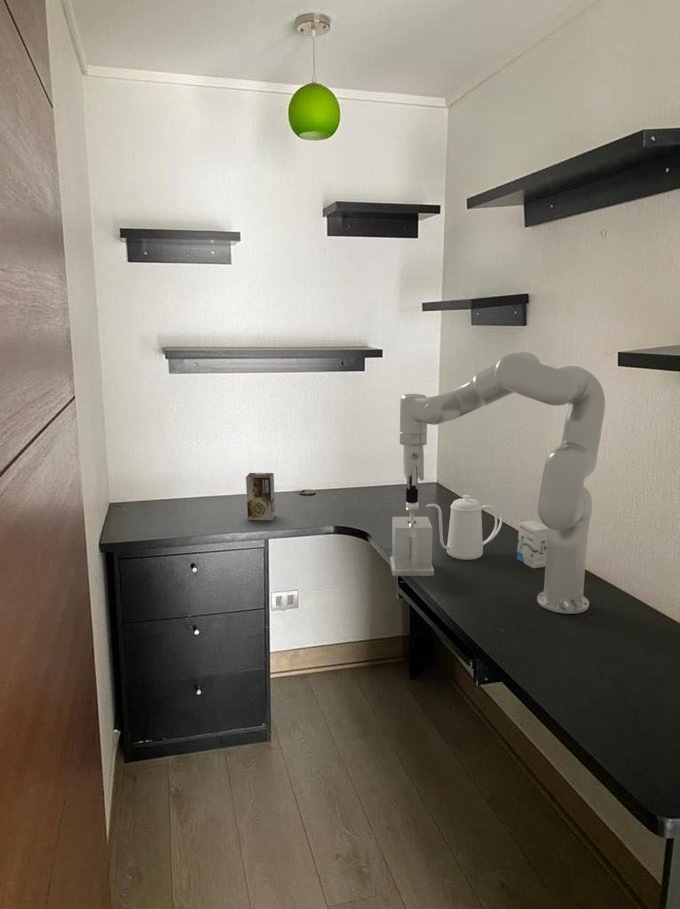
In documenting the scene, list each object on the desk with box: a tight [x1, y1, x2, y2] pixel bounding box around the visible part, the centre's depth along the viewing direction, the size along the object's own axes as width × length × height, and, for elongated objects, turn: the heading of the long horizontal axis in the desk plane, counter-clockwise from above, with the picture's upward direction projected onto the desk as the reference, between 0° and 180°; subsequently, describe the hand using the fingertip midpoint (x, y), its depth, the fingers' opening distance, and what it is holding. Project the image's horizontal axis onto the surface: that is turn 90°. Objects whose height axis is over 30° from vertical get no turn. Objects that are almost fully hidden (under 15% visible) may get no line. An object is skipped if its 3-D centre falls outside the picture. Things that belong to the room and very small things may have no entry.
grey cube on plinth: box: [389, 516, 435, 577], centre depth 197 cm, size 14×12×14 cm
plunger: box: [405, 501, 420, 523], centre depth 197 cm, size 7×7×18 cm
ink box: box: [516, 520, 548, 569], centre depth 202 cm, size 9×5×12 cm, turn 21°
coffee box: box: [245, 472, 276, 521], centre depth 247 cm, size 9×6×16 cm
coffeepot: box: [425, 494, 504, 561], centre depth 208 cm, size 11×25×19 cm, turn 105°
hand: (411, 501), depth 196 cm, fingers closed
